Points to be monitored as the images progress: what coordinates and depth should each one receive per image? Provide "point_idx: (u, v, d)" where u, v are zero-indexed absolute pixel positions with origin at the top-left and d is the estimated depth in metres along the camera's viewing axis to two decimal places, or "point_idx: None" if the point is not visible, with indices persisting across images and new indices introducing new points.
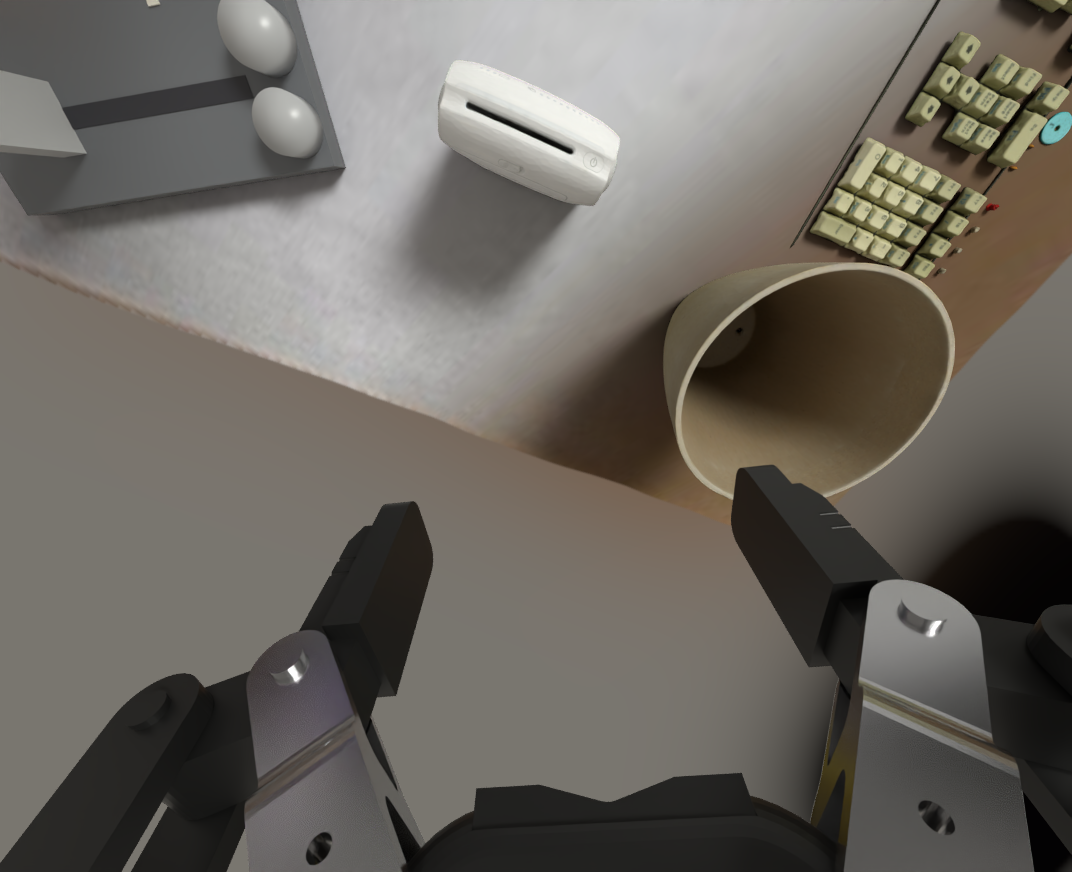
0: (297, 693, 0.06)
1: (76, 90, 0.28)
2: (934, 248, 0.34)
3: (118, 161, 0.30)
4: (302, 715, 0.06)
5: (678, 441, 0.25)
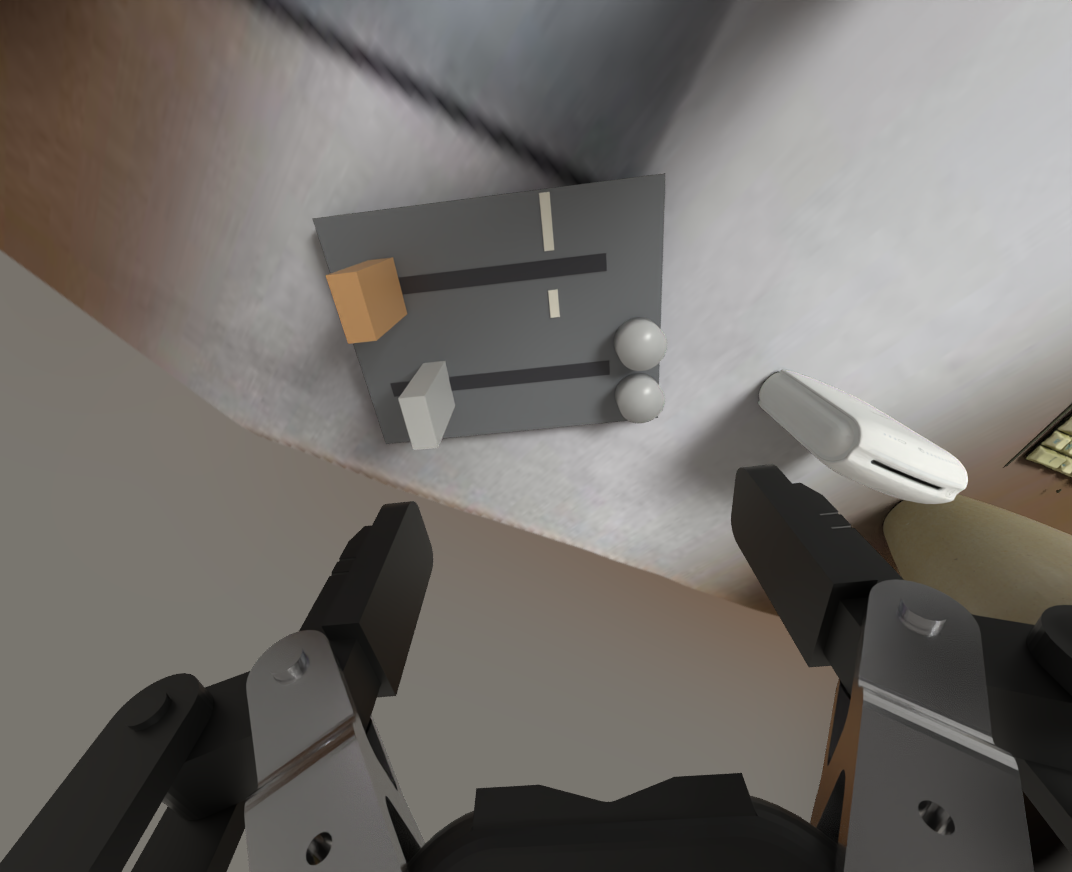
0: (296, 693, 0.06)
1: (465, 366, 0.34)
2: None
3: (479, 411, 0.36)
4: (302, 715, 0.06)
5: None
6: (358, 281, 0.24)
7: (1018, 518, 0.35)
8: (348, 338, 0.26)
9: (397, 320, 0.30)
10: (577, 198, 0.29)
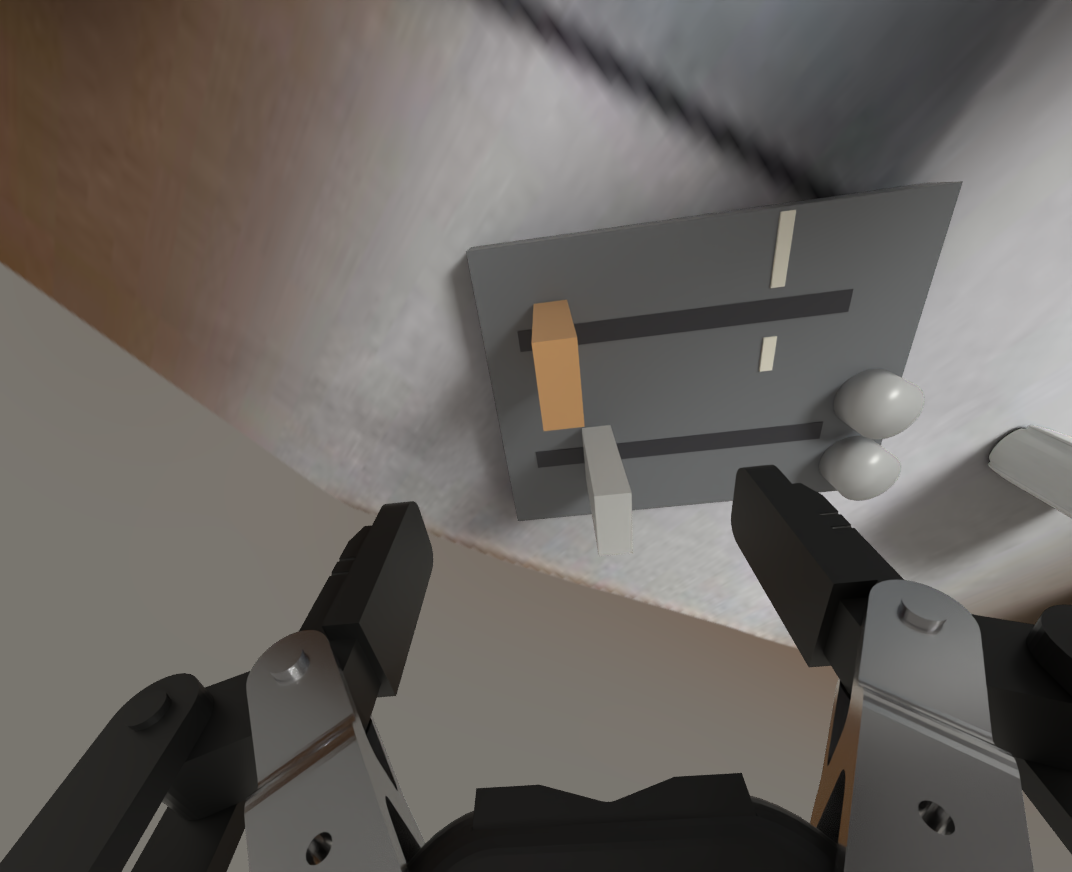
0: (298, 693, 0.06)
1: (635, 431, 0.27)
2: None
3: (642, 482, 0.29)
4: (302, 715, 0.06)
5: None
6: (577, 349, 0.17)
7: None
8: (545, 424, 0.19)
9: None
10: (831, 218, 0.21)
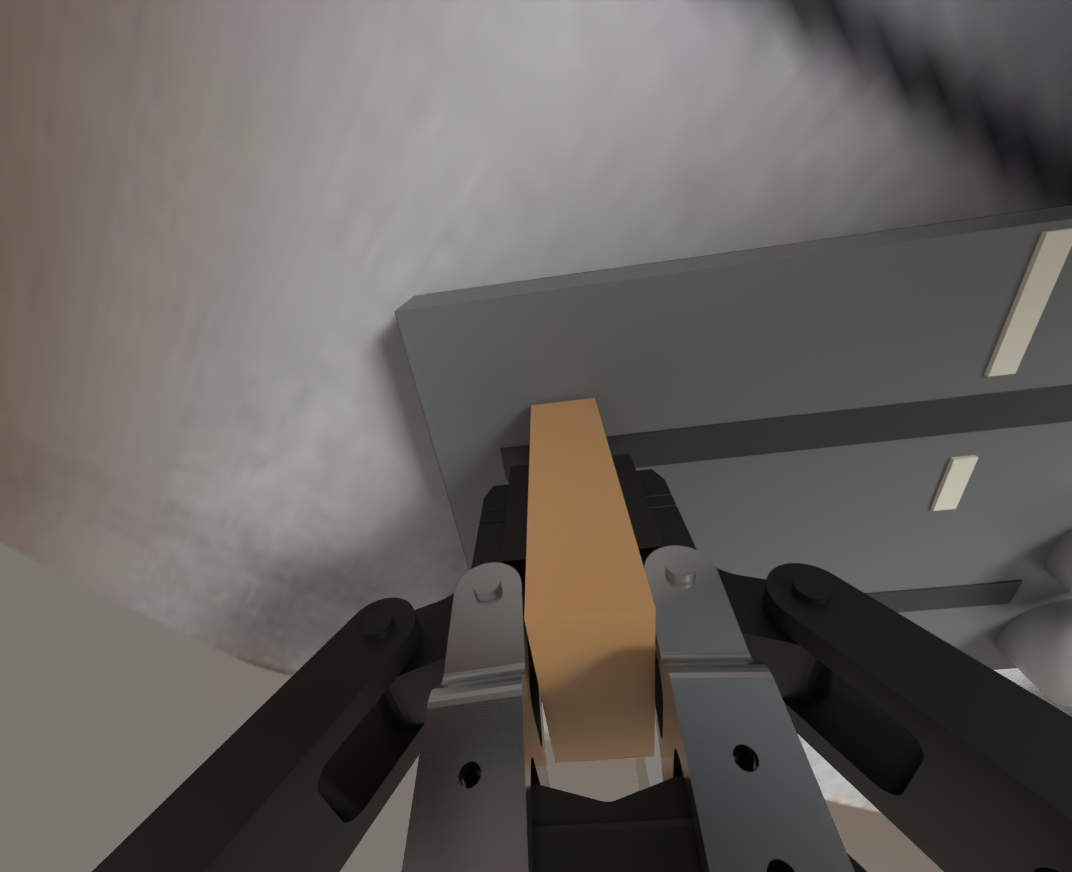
0: (487, 618, 0.07)
1: None
2: None
3: None
4: (522, 626, 0.07)
5: None
6: (651, 633, 0.06)
7: None
8: (560, 752, 0.08)
9: None
10: None
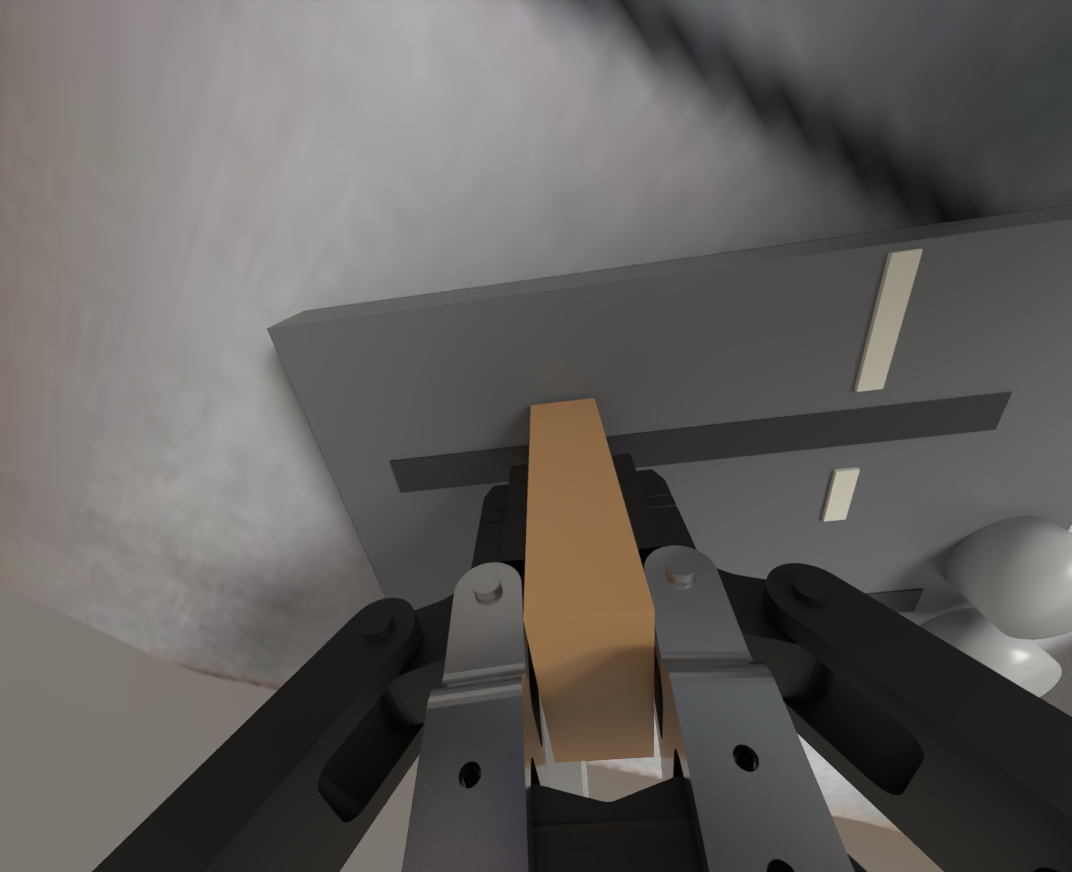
0: (488, 618, 0.07)
1: None
2: None
3: None
4: (522, 626, 0.07)
5: None
6: (651, 633, 0.06)
7: None
8: (559, 753, 0.08)
9: None
10: (990, 264, 0.10)
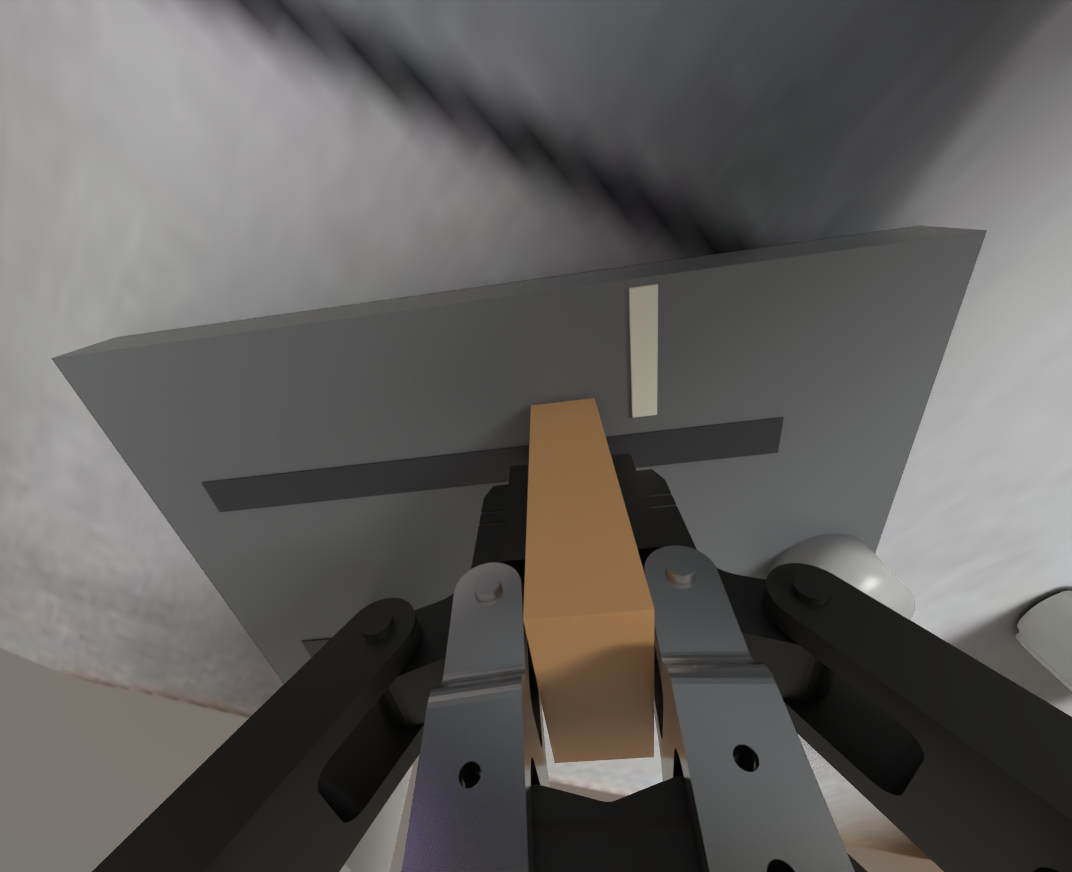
0: (487, 618, 0.07)
1: None
2: None
3: None
4: (522, 626, 0.07)
5: None
6: (651, 633, 0.06)
7: None
8: (559, 753, 0.08)
9: None
10: (730, 298, 0.11)
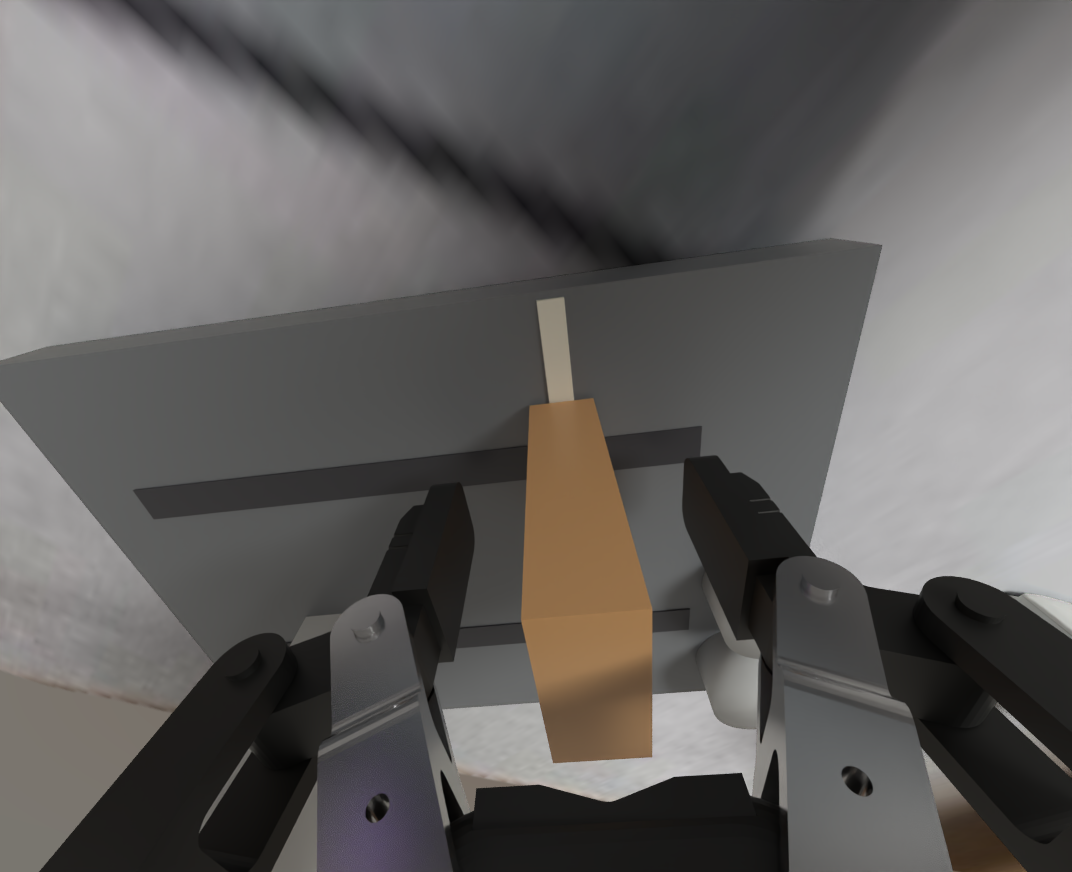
0: (372, 653, 0.07)
1: None
2: None
3: None
4: (389, 666, 0.06)
5: None
6: (649, 633, 0.06)
7: None
8: (557, 753, 0.08)
9: None
10: (637, 311, 0.11)
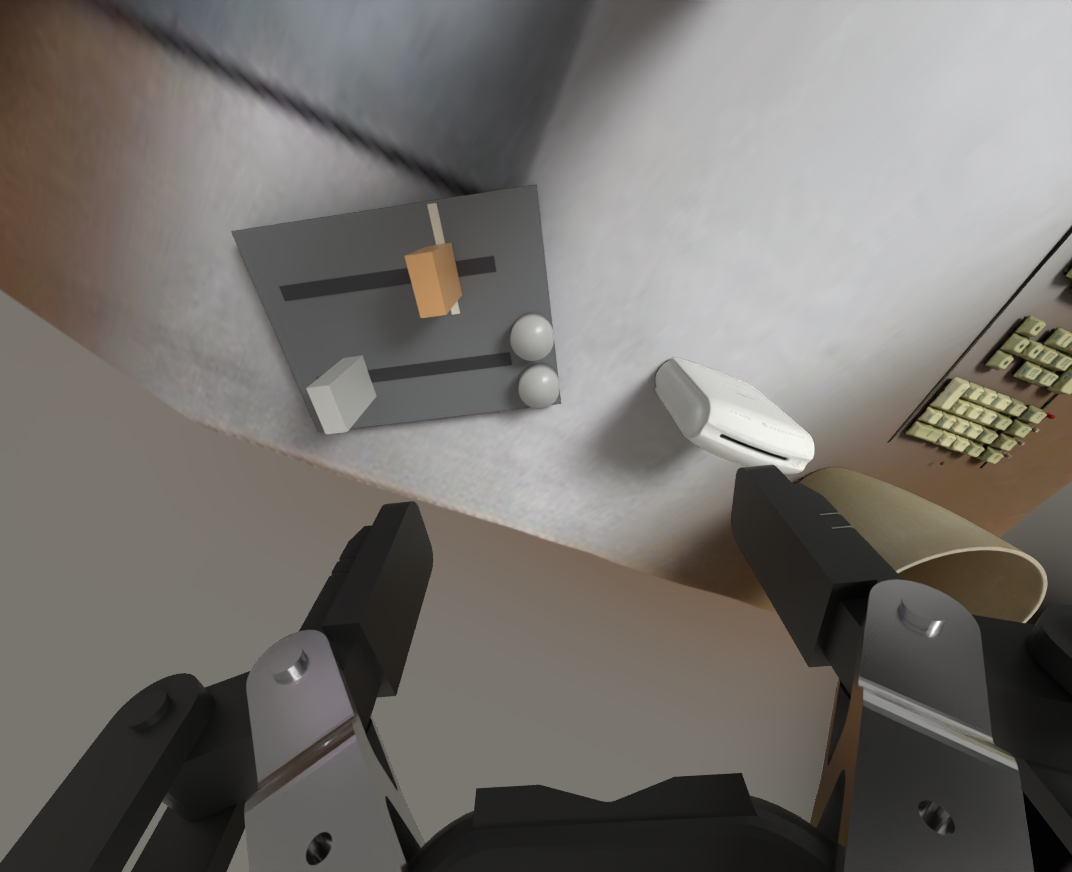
0: (297, 693, 0.06)
1: (381, 360, 0.38)
2: (1003, 445, 0.43)
3: (399, 400, 0.40)
4: (302, 715, 0.06)
5: None
6: (432, 260, 0.27)
7: (889, 489, 0.39)
8: (421, 313, 0.29)
9: (456, 299, 0.33)
10: (461, 208, 0.32)
